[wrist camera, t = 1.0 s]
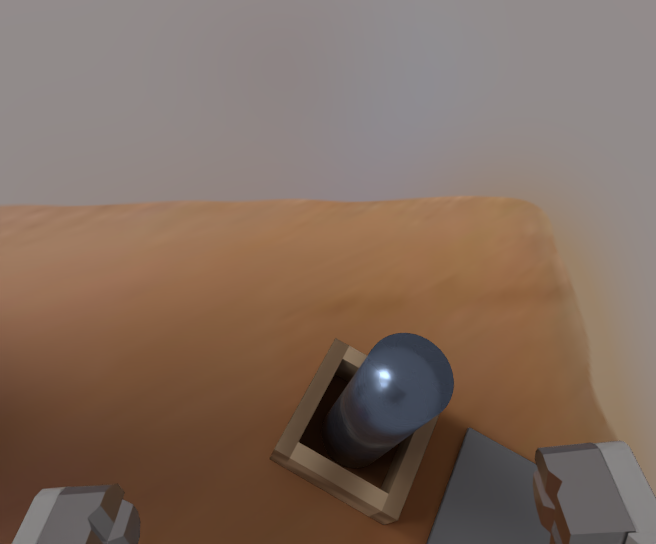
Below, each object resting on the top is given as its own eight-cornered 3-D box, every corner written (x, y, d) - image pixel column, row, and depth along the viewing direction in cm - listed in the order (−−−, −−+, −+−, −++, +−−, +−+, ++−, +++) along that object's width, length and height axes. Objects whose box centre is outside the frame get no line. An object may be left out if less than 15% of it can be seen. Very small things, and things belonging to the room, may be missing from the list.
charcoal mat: (423, 553, 38) (424, 552, 38) (467, 428, 44) (469, 427, 43) (551, 628, 38) (554, 628, 37) (581, 492, 43) (584, 491, 42)
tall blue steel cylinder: (309, 447, 41) (350, 391, 29) (339, 390, 43) (387, 317, 31) (368, 480, 40) (434, 438, 28) (394, 421, 43) (465, 360, 31)
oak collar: (269, 458, 40) (274, 448, 37) (327, 354, 44) (335, 338, 41) (383, 525, 39) (397, 520, 36) (429, 411, 44) (445, 399, 41)
